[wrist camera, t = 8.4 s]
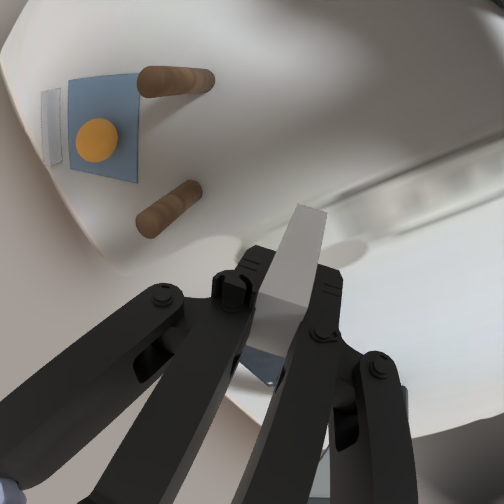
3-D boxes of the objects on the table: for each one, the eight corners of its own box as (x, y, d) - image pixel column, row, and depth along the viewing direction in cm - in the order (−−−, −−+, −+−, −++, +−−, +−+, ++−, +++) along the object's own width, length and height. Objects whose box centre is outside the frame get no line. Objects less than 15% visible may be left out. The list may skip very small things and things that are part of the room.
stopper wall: (53, 89, 28) (40, 91, 26) (60, 88, 28) (47, 90, 26) (55, 159, 35) (44, 165, 33) (62, 161, 35) (50, 166, 33)
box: (326, 311, 35) (315, 378, 26) (286, 327, 38) (267, 389, 30) (276, 251, 32) (249, 314, 24) (236, 274, 36) (203, 333, 27)
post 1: (193, 68, 23) (138, 66, 16) (216, 69, 23) (165, 65, 16) (190, 91, 25) (135, 97, 18) (213, 93, 24) (162, 98, 17)
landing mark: (69, 80, 27) (68, 80, 27) (141, 73, 25) (140, 73, 24) (71, 168, 35) (70, 168, 35) (137, 182, 33) (136, 183, 33)
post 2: (183, 177, 31) (134, 210, 23) (203, 182, 30) (158, 216, 23) (181, 198, 32) (136, 234, 25) (201, 203, 32) (158, 242, 24)
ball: (75, 124, 23) (121, 116, 26) (74, 120, 27) (113, 114, 30) (78, 171, 26) (122, 162, 29) (76, 161, 29) (114, 153, 33)
